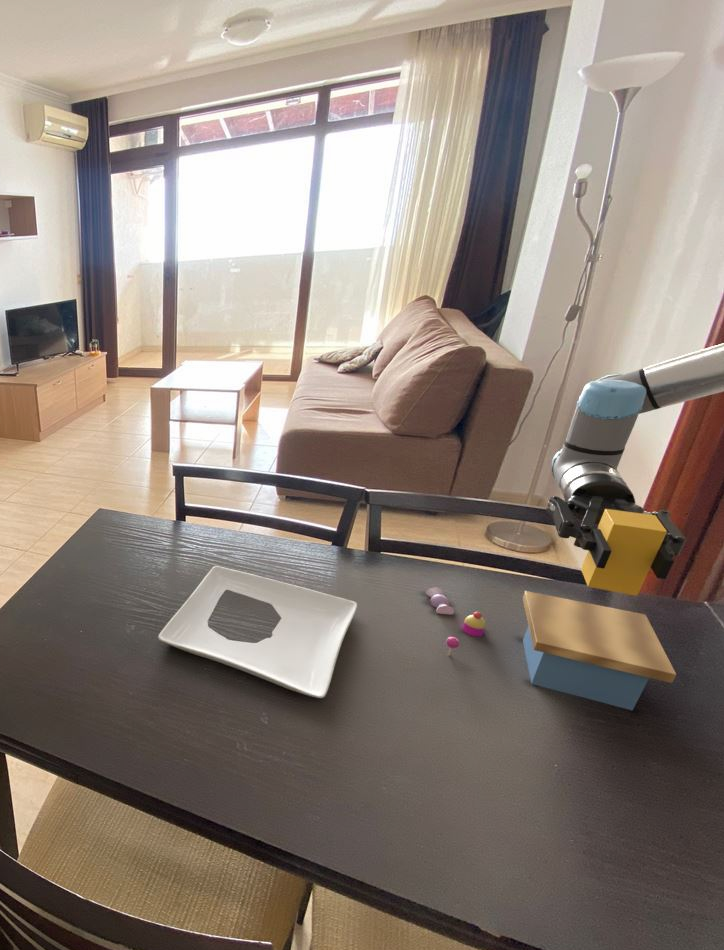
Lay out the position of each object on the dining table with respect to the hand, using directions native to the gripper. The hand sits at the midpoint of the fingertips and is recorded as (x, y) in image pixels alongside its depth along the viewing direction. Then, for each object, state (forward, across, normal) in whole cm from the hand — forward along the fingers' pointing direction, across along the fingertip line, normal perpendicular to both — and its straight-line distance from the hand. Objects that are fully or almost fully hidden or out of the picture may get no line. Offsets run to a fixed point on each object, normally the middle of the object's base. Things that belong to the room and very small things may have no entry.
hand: (634, 564), depth 69 cm
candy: (-9, +15, -23) cm, 29 cm away
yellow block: (-5, 0, -6) cm, 8 cm away
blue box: (-5, 0, -23) cm, 23 cm away
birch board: (-5, 0, -15) cm, 16 cm away
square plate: (+7, +44, -23) cm, 50 cm away
